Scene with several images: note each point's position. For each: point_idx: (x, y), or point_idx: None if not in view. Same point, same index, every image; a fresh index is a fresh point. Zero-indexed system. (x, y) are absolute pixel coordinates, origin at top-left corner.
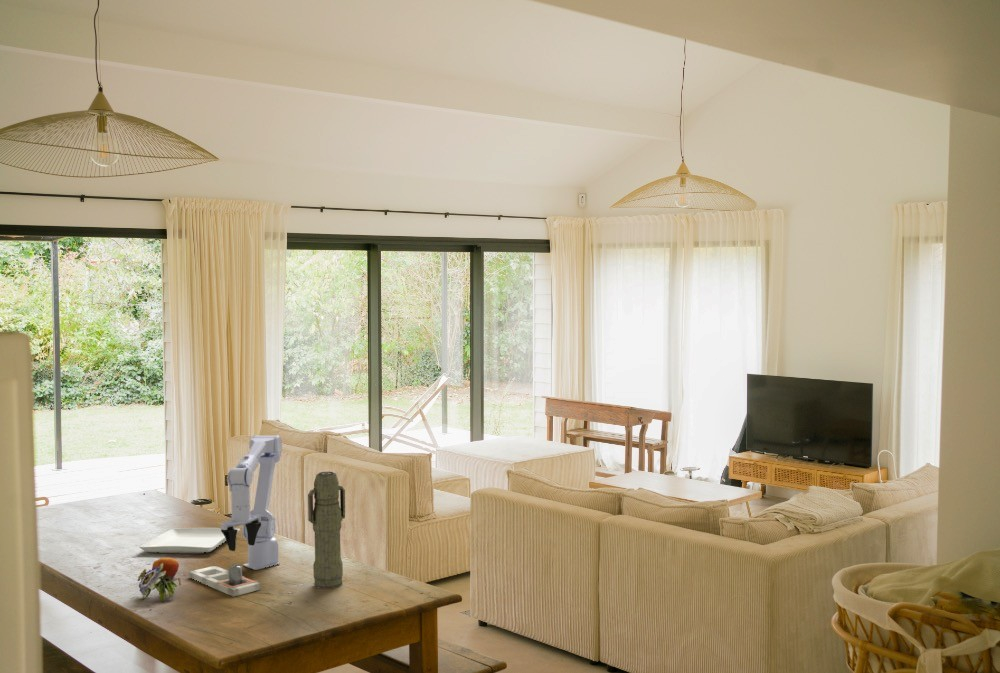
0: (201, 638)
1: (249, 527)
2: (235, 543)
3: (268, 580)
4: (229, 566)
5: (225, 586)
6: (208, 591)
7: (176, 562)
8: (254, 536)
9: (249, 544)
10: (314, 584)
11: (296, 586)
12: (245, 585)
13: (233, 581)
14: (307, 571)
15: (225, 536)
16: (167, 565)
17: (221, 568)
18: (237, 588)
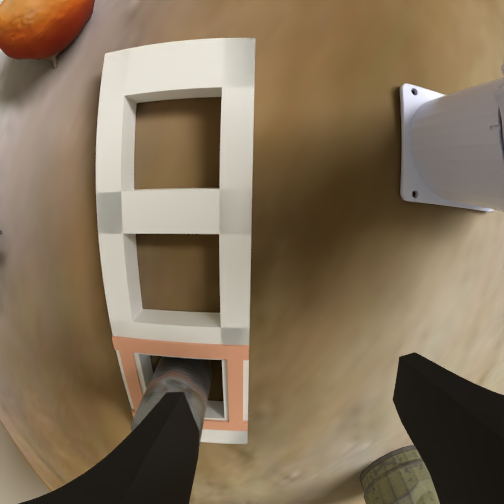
0: (54, 482)
1: (486, 489)
2: (190, 489)
3: (340, 367)
4: (139, 420)
5: (128, 392)
6: (92, 314)
7: (48, 18)
8: (429, 461)
9: (399, 370)
10: (370, 467)
11: (341, 453)
12: None
13: None
14: (468, 355)
15: (83, 491)
16: (8, 47)
17: (250, 111)
18: None
